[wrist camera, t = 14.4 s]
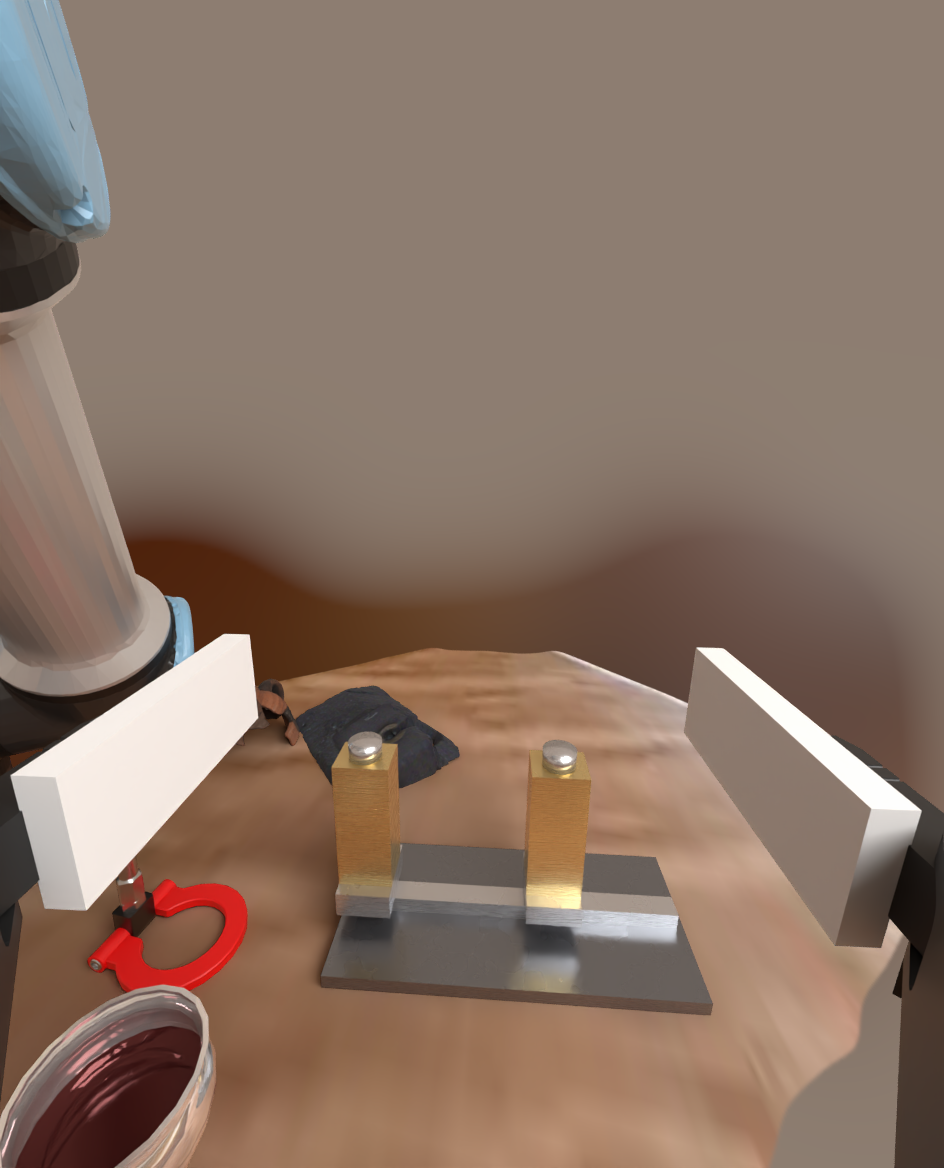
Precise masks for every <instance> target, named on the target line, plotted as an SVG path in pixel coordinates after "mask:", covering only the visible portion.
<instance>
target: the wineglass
mask: <svg viewBox="0 0 944 1168" xmlns="http://www.w3.org/2000/svg"><path fill="white" fill-rule="evenodd" d="M215 1087H216V1054H215V1049H214V1046H213V1044H212V1042H211V1040H210V1038H209V1035H208V1016H207V1014H206V1011H205V1009H204V1007H203V1005H202V1003H201V1001H200V999H199V998H198V997H196V996H195V995H193V994H192V993H191V992H189V991H188V990H186V989H185V988H182V987H175V986H169V985H157V986H151V987H145V988H139V989H135V990H133V991H131V992H128V993H126V994H123V995H121V996H118V997H116V998H114V999H111V1000H109V1001H107V1002H106V1003H104V1004H102V1005H101V1006H99V1007H98V1008H96V1009H95V1010H93V1011H92V1012H90V1013H88V1014H87V1015H85V1016H84V1017H82V1018H81V1019H79V1020H78V1021H77V1022H75V1023H74V1024H73V1025H72V1026H71V1027H70V1028H69V1029H68V1030H66V1031H65V1032H64V1033H63V1034H62V1035H61V1036H60V1037H58V1038H57V1039H56V1040H55V1041H54V1042H53V1043H52V1044H51V1045H49V1046H48V1048H47V1049H46V1050H45V1051H44V1052H43V1054H42V1055H41V1056H40V1057H39V1058H38V1060H37V1061H36V1062H35V1063H34V1064H33V1066H32V1067H31V1068H30V1069H29V1070H28V1072H27V1073H26V1074H25V1075H24V1076H23V1078H22V1079H21V1081H20V1083H19V1084H18V1086H17V1088H16V1090H15V1091H14V1093H13V1095H12V1096H11V1098H10V1100H9V1102H8V1103H7V1105H6V1107H5V1109H4V1110H3V1112H2V1115H1V1118H0V1168H187V1166H188V1164H189V1161H190V1159H191V1157H192V1155H193V1153H194V1151H195V1149H196V1147H197V1145H198V1143H199V1141H200V1139H201V1137H202V1135H203V1133H204V1130H205V1127H206V1125H207V1121H208V1118H209V1114H210V1110H211V1106H212V1102H213V1098H214V1094H215Z"/></svg>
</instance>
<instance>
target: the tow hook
mask: <svg viewBox="0 0 944 1168" xmlns="http://www.w3.org/2000/svg"><path fill="white" fill-rule="evenodd" d="M116 884H117V890H118V896H119V902H120V906H119V907H118V908H117V909H116V910H115V911H114V912H113V913H112V915H113V920H114V926H115V931H114V932H113V933H112V934H111V936H110V937H109V938H108V939H107V940H106V941H105V942H104V943H103V944H102V945H101V946H100V947H99V948H98V949H97V950H96V951H95V952H94V953H93V954H92V955H91V956H90V957H89V958H88V965H89V966H90V968H91V969H93V970H94V971H96V972H99V973H100V972H103V971H104V970H105V969H106V968H108V969H112V970H115V971H116V976H117V979H118V981H119V983H120V985H121V987H122V989H123V990H124V991H126V992H127V993H128V992H131V991H133V990H135V989H139V988H145V987H151V986H157V985H169V986H175V987H182V988H185V989H186V990H188V991H190V990H192V989H193V988H195V987H197V986H199V985H201V984H203V983H204V982H206V981H207V980H208V979H210V978H211V977H212V976H213V975H215V974H216V973H217V972H219V971H220V970H221V969H222V968H223V966H224V965H225V964H226V963H227V962H228V961H229V960H230V959H231V958H232V957H233V955H234V954H235V952H236V951H237V949H238V947H239V946H240V944H241V943H242V940H243V938H244V935H245V932H246V929H247V917H248V915H247V908H246V904H245V901H244V899H243V897H242V896H241V895H240V894H239V893H238V892H237V891H236V890H234V889H232V888H230V887H229V886H226V885H220V884H199V885H195V886H191V887H187V888H184V889H183V888H179V887H177V886H176V884H175V883H174V882H173V881H171V880H168V879H166V880H164V881H163V882H162V883H161V884H160V885H159V886H158V887H157V888H156V889H155V890H154V891H153V892H152V893H149V892H145V890H144V883H143V877H142V873H141V871H140V869H139V868H138V866H137V859H136V855H135V857H134V858H133V859H132V860H131V861H130V862H129V863H128V864H127V866H126V867H125V868H124V869H123V870H122V871H121V872H120V873H119V875H118V877H117V878H116ZM194 906H211V907H215V908H216V909H218V910H220V911H221V912H222V914H223V915H224V916H225V920H226V921H225V927H224V929H223V932H222V934H221V936H220V937H219V939H218V940H217V942H216V943H215V944H214V945H213V946H212V947H211V948H210V949H209V950H208V951H207V952H206V953H205V954H204V955H202V956H201V957H200V958H198V959H197V960H195V961H193V962H191V963H189V964H187V965H185V966H182V967H179V968H176V969H171V970H158V969H154V968H151V967H150V966H148V965H147V964H145V962H144V960H143V959H142V952H143V948H144V947H143V941H142V939H141V938H137V936H138V935H139V934H140V933H141V932H142V931H143V930H144V929H145V927H146V926H147V925H148V924H149V923H150V922H151V921H152V920H153V919H154V918H155V915H156V914H157V915H161V916H165V917H169V916H172V915H174V914H175V913H177V912H179V911H182V910H184V909H186V908H190V907H194Z"/></svg>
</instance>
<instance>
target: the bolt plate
mask: <svg viewBox="0 0 944 1168" xmlns="http://www.w3.org/2000/svg"><path fill="white" fill-rule="evenodd" d="M331 769H332V784H333V799H334V814H335V829H336V844H337V859H338V874H339V886H338V888H337V891H336V893H335V899H336V913H337V915H342V916H341V919H340V922H339V925H338V928H337V931H336V934H335V936H334V939H333V942H332V945H331V948H330V951H329V954H328V956H327V959H326V962H325V965H324V968H323V971H322V974H321V986H322V987H326V988H340V989H353V990H367V991H381V992H395V993H409V994H423V995H437V996H451V997H464V998H478V999H492V1000H506V1001H520V1002H534V1003H548V1004H561V1005H575V1006H589V1007H603V1008H617V1009H631V1010H645V1011H659V1012H672V1013H686V1014H700V1015H711V1011H712V1006H713V1003H712V1000H711V998H710V995H709V993H708V990H707V988H706V985H705V983H704V980H703V977H702V975H701V972H700V970H699V967H698V965H697V962H696V959H695V957H694V954H693V952H692V949H691V947H690V944H689V942H688V939H687V936H686V934H685V931H684V929H683V926H682V924H681V921H680V919H679V915H678V913H677V910H676V908H675V905H674V903H673V900H672V897H671V896H670V893H669V890H668V888H667V885H666V883H665V880H664V878H663V875H662V873H661V870H660V867H659V865H658V862H657V860H656V857H640V856H622V855H604V854H586V853H585V859H584V870H583V882H582V893H581V901H582V906H583V916H582V927H568V926H552V925H537V924H526V916H525V898H524V880H523V854H524V852H525V850H515V849H497V848H479V847H461V846H443V845H425V844H407V843H400V820H399V783H398V747H397V744H384V743H382V737H381V736H380V735H379V734H377V733H375V732H361V733H358V734H355V735H353V736H352V737H351V738H350V739H349V741H348V742H345V744H344V746H343V747H342V749H341V751H340V753H339V755H338V756H337V758H336V760H335V762H334V764H333V765H332V767H331Z"/></svg>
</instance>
